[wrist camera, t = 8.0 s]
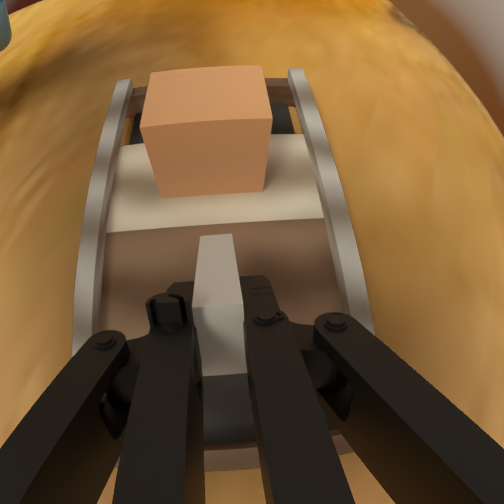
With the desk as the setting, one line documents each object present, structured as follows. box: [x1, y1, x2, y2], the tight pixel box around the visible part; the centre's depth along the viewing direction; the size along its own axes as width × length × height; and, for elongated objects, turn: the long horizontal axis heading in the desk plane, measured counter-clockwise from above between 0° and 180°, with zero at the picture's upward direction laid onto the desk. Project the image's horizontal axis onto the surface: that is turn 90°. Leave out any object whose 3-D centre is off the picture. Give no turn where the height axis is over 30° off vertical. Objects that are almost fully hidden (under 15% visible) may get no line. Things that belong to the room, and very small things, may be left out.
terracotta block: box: [140, 65, 273, 199], centre depth 23 cm, size 6×8×8 cm
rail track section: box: [72, 68, 375, 471], centre depth 25 cm, size 36×20×4 cm, turn 5°
